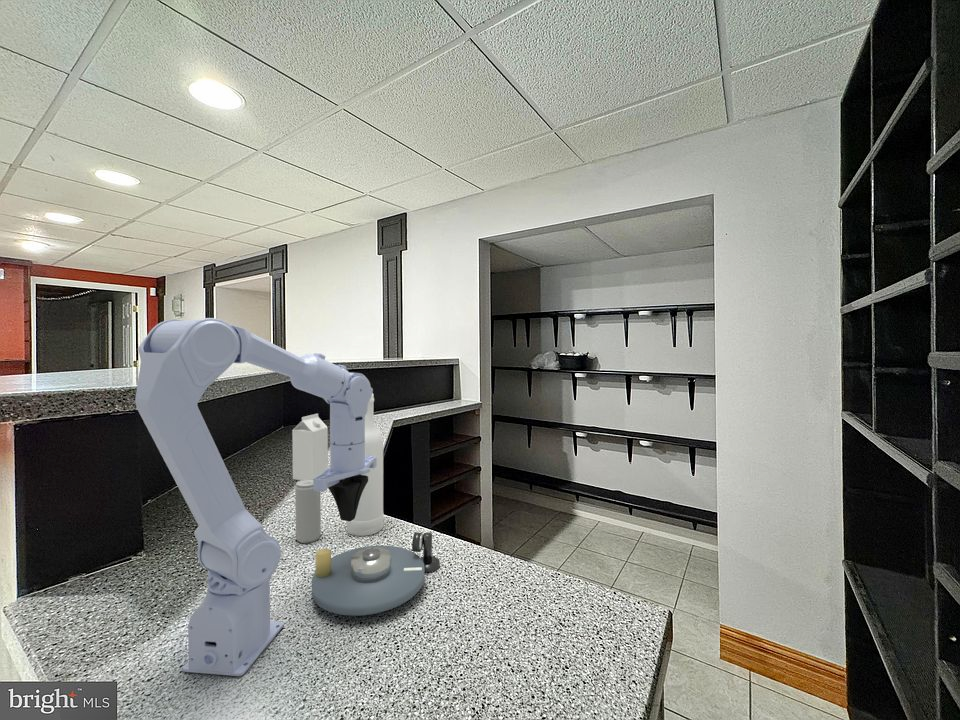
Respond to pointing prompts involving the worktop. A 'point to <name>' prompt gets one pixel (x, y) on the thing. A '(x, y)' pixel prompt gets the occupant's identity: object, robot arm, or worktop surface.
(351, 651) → the worktop surface
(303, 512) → the beverage can
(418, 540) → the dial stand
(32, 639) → the worktop surface
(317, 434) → the milk carton
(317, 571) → the turntable
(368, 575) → the cover
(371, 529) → the bottle
